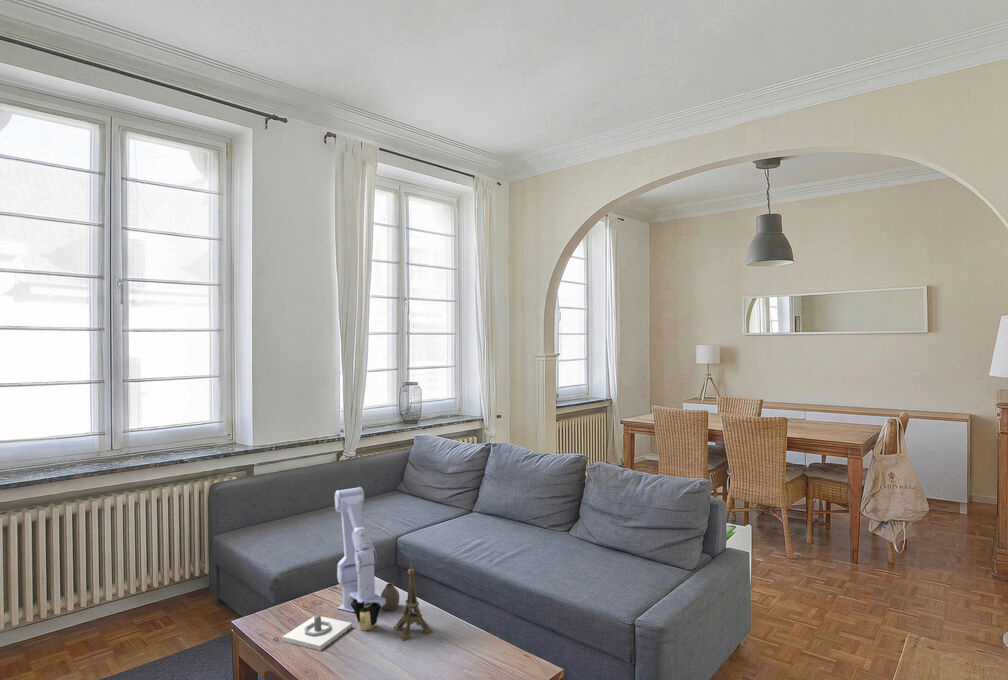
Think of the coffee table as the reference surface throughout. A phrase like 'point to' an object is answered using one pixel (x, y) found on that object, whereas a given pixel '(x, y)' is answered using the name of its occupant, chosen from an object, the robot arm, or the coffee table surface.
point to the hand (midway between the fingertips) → (367, 622)
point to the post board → (317, 632)
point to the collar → (365, 619)
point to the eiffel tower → (411, 615)
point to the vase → (390, 597)
